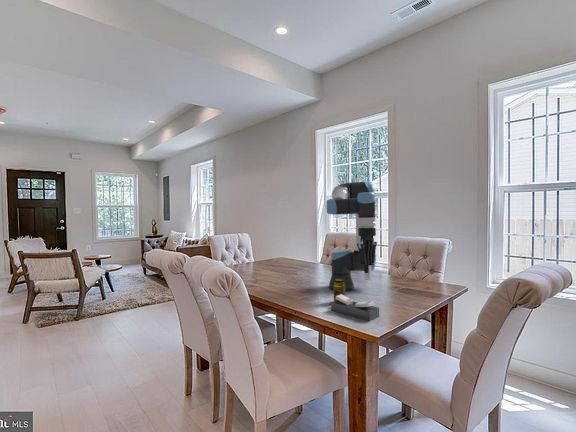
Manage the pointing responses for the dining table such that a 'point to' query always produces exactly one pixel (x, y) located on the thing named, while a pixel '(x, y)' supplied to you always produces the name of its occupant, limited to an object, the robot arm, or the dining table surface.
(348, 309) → the power strip
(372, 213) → the robot arm
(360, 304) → the block
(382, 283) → the dining table surface
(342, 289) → the condiment
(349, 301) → the rocker
